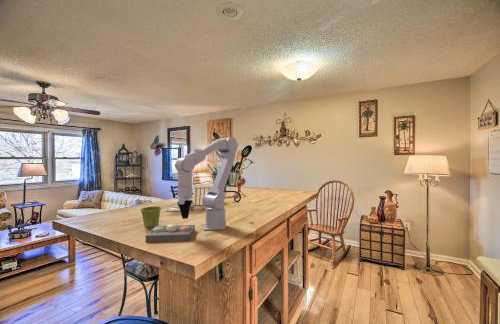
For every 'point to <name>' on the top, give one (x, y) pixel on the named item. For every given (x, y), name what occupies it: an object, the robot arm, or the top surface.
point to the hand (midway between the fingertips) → (185, 218)
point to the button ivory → (172, 228)
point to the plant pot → (151, 216)
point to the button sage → (158, 229)
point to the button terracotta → (184, 228)
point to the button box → (170, 234)
